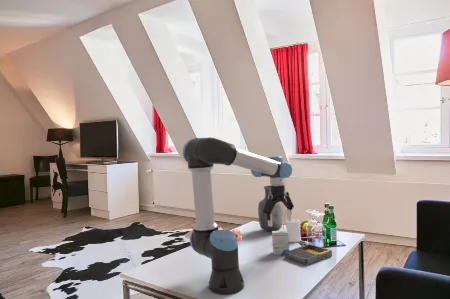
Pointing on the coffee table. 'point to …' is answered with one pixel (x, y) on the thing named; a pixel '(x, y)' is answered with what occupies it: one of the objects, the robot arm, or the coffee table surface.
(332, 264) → the coffee table surface
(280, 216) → the vase
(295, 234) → the mug
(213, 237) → the robot arm
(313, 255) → the tray
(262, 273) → the coffee table surface
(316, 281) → the coffee table surface
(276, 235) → the ink box
